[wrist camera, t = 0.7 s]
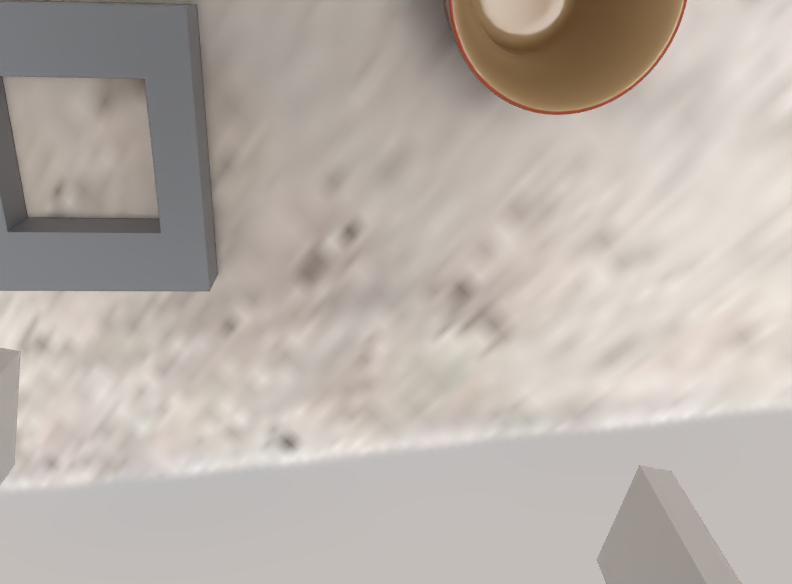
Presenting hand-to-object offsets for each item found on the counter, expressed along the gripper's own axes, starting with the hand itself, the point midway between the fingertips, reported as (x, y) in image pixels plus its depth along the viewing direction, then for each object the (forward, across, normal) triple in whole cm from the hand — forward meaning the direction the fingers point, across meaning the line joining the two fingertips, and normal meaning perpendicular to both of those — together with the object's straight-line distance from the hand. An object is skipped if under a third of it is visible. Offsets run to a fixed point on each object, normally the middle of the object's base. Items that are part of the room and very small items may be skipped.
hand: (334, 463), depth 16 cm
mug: (+26, +4, +11) cm, 28 cm away
